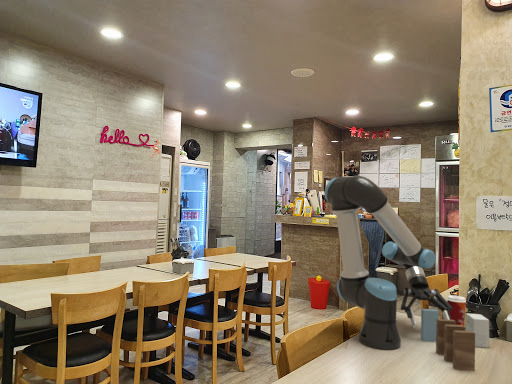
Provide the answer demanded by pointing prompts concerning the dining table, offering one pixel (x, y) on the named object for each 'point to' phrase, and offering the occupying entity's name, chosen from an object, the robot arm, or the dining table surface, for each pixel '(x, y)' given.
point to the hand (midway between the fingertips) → (432, 326)
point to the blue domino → (429, 324)
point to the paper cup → (457, 308)
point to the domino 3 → (464, 350)
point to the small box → (478, 329)
